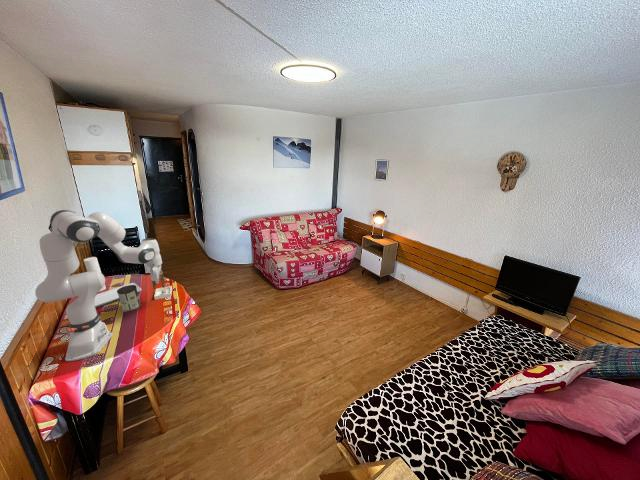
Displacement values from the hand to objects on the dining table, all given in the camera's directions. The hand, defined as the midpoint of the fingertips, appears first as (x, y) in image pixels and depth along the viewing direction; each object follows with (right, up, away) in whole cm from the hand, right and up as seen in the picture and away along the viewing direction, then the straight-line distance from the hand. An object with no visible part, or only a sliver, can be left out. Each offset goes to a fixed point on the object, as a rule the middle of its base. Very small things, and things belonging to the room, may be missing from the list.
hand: (158, 280), depth 173 cm
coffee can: (-17, -18, -1) cm, 25 cm away
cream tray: (-5, -12, +14) cm, 19 cm away
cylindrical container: (-57, -10, +21) cm, 61 cm away
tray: (-38, -14, +10) cm, 42 cm away
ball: (-5, -12, +14) cm, 19 cm away
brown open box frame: (0, -4, +1) cm, 4 cm away
